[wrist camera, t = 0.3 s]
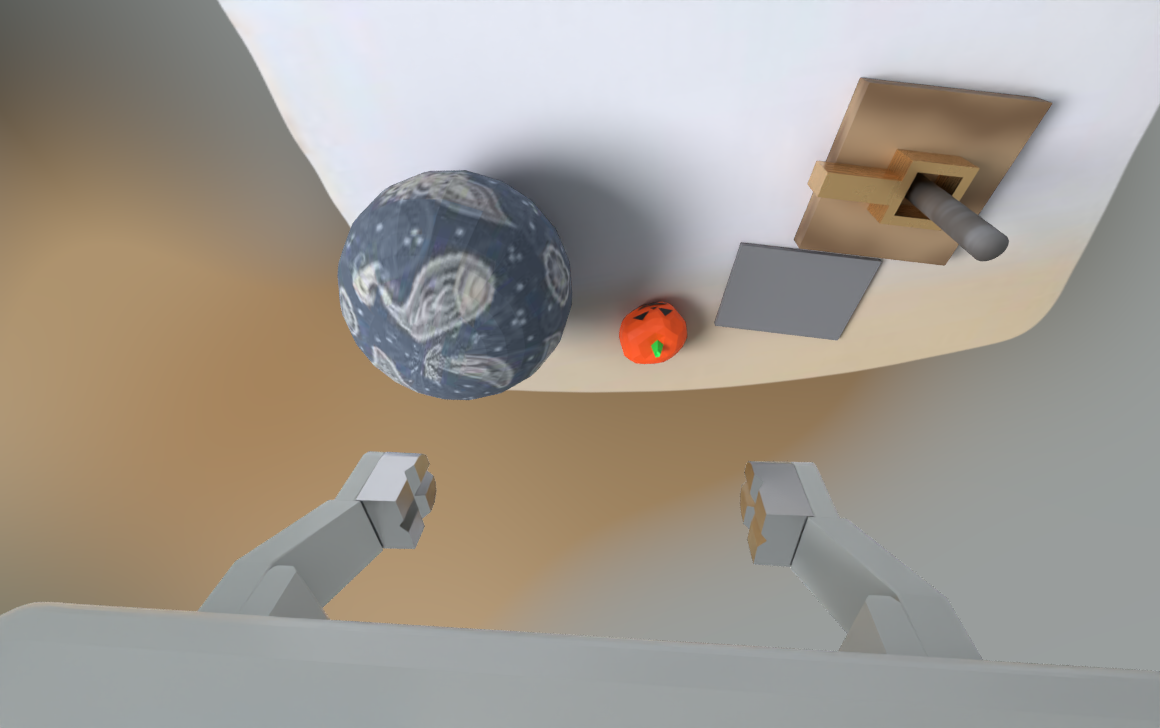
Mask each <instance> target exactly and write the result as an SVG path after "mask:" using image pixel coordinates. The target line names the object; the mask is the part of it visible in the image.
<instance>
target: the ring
mask: <svg viewBox="0 0 1160 728" xmlns="http://www.w3.org/2000/svg"><path fill="white" fill-rule="evenodd" d="M979 169H980V168H979V167H977V166H975V165H974V164H972V163H970V162H969V161H967V160H965V159H964V158H962V157H960V156H953V155H944V154H936V153H927V152H918V151H909V150H901V149H897V150H896V152H895V154H894V156H893V158H892V160H891V162H890V164H889V166H888V168H887V169H884V168H876V167H867V166H858V165H849V164H841V163H832V162H823V161H816V164H815V166H814V169H813V171H812V174H811V176H810V179H809V182H808V186H809V187H810V188H811V189H812V191H813V192H814V193H815V195H816V196H817V197H821V198H830V199H839V200H847V201H856V202H864V203H870V204H869V206H868V208H867V210H868V211H869V213H870V214H871V215H872V216H873V217H874V218H875V219H876V220H877V221H878V222H879V223H880V224H887V225H896V226H904V227H913V228H922V229H930V230H939V231H941V230H942V229H941V228H939V227H938V226H937V225H936V224H935V223H934V222H933V221H931V220H930V219H929V218H928V217H927V216H926V215H925V214H923V213H922V212H921V211H920V210H919V209H918V208H917V207H915V206H910V205H901V202H902V200H903V198H904V197H905V195H906V193H907V191H908V189H909V187H910V185H911V184H912V182H913V180H914V178H915V176H916V174H917V173H918V172H920V173H929V174H938V177H937V179H936V181H935V182H934V183H935V184H936V185H938V186H939V187H940V188H942V189H943V190H944V191H946V192H947V193H948V194H950V195H951V196H953V197H954V198H955V199H957V200H958V201H960V199H961V198H962V196H963V195H964V193H965V191H966V190H967V188H968V187H969V185H970V183H971V182H972V180H973V179H974V177H975V175H976V174H977V172H978V171H979Z"/></svg>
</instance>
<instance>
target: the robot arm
mask: <svg viewBox="0 0 1160 728" xmlns="http://www.w3.org/2000/svg"><path fill="white" fill-rule="evenodd" d="M428 467H429V461H428V458H427V456H426V455H424V454H416V453H397V452H367V453H366V454H364V455H363V456H362V458H361V460H360V461H359V463H358V464H357V466H356V467H355V469H354V470H353V472H352V473H351V475H350V476H349V478H348V479H347V481H346V483H345V484H344V486H343V487H342V489H341V490H340V492H339V493H338V495H337V497H336V498H335V500H328V501H327V502H325V503H324V504H322V505H320V506H319V507H318V508H316V509H315V510H313V511H311V512H310V513H308V514H307V515H305V516H304V517H302V518H301V519H299V520H298V521H296V522H295V523H293V524H292V525H290V526H288V527H287V528H286V529H284V530H282V531H281V532H279V533H278V534H276V535H275V536H273V537H272V538H270V539H269V540H267V541H266V542H264V543H263V544H261V545H260V546H258V547H256V548H255V549H253V550H252V551H250V552H249V553H248V554H246V555H244V556H243V557H241V558H240V559H238V560H237V561H235V563H234V564H233V565H232V566H231V568H230V569H229V570H228V572H227V573H226V574H225V576H224V577H223V578H222V580H221V581H220V582H219V583H218V585H217V586H216V587H215V589H214V590H213V591H212V593H211V594H210V595H209V597H208V598H207V599H206V601H205V602H204V603H203V605H202V606H201V607H200V608H199V610H198V611H197V612H196V611H180V610H164V609H148V608H147V609H146V608H131V607H115V606H100V605H99V606H98V605H83V604H69V603H57V602H35V603H31V604H26V605H23V606H20V607H17V608H15V609H13V610H11V611H9V612H7V613H4V614H2V615H0V728H1160V671H1152V670H1136V669H1119V668H1102V667H1086V666H1069V665H1054V664H1038V663H1021V662H1004V661H988V660H983V659H982V657H981V655H980V654H979V652H978V650H977V648H976V647H975V645H974V643H973V642H972V640H971V638H970V636H969V635H968V633H967V631H966V629H965V628H964V626H963V624H962V622H961V621H960V619H959V617H958V615H957V614H956V612H955V610H954V608H953V607H952V605H951V603H950V601H949V600H948V598H947V597H946V596H944V595H943V594H942V593H941V592H939V591H938V590H937V589H936V588H934V587H933V586H932V585H931V584H929V583H928V582H927V581H926V580H924V579H923V578H922V577H920V576H919V575H918V574H917V573H915V572H914V571H913V570H912V569H910V568H909V567H908V566H907V565H905V564H904V563H903V562H901V561H900V560H899V559H898V558H896V557H895V556H894V555H893V554H891V553H890V552H889V551H887V550H886V549H885V548H884V547H882V546H881V545H880V544H879V543H877V542H876V541H875V540H874V539H872V538H871V537H870V536H869V535H867V534H866V533H865V532H863V531H862V530H861V529H860V528H858V527H857V526H856V525H855V524H853V523H852V522H851V521H850V520H848V519H847V518H840V517H839V514H838V512H837V510H836V508H835V506H834V504H833V501H832V499H831V497H830V495H829V493H828V490H827V488H826V486H825V484H824V482H823V479H822V477H821V475H820V473H819V471H818V469H817V466H816V465H815V464H814V463H813V462H757V461H756V462H755V461H750V462H747V464H746V468H745V472H744V473H745V477H746V482H745V483H744V484H742V486H741V493H740V509H741V516H742V520H743V524H745V525H746V526H747V527H748V528H749V533H748V538H747V541H748V544H749V549H750V553H751V557H752V561H753V564H759V565H773V566H787V567H791V570H792V571H793V572H794V573H795V574H796V575H797V577H798V578H799V579H800V580H801V581H802V583H803V584H804V585H805V586H806V587H807V588H808V589H809V591H810V592H811V593H812V594H813V595H814V596H815V597H816V599H817V600H818V601H819V602H820V603H821V604H822V605H823V607H824V608H825V609H826V610H827V611H828V612H829V614H830V615H831V616H832V617H833V618H834V619H835V621H837V623H838V624H839V625H840V626H841V627H842V629H843V630H844V631H845V632H846V633H847V636H846V638H845V639H844V641H843V643H842V645H841V647H840V649H839V651H827V650H810V649H795V648H777V647H762V646H746V645H730V644H713V643H697V642H681V641H664V640H649V639H648V640H647V639H632V638H616V637H599V636H583V635H566V634H551V633H550V634H549V633H534V632H517V631H501V630H485V629H468V628H452V627H437V626H421V625H405V624H403V625H402V624H388V623H372V622H356V621H340V620H330V619H329V617H328V616H327V614H326V613H325V611H324V610H323V607H324V606H325V605H326V604H327V603H328V602H329V601H330V600H331V599H332V598H333V597H334V596H335V595H337V594H338V593H339V592H340V591H341V590H342V589H343V588H344V587H345V586H346V585H347V584H348V583H349V582H350V581H351V580H352V579H353V578H354V577H355V576H356V575H357V574H359V573H360V572H361V571H362V570H363V569H364V568H365V567H366V566H367V565H368V564H369V563H370V562H371V561H372V560H373V559H374V558H375V557H376V556H377V555H379V553H381V552H382V551H383V548H397V549H415V548H416V545H417V543H418V541H419V538H420V536H421V533H422V532H423V529H424V527H425V526H424V523H423V520H422V518H424V517H425V516H426V515H427V514H429V513H430V512H431V510H432V508H433V505H434V502H435V496H436V482H435V479H434V476H433V475H432V474H431V473H429V472H428V471H427V469H428Z"/></svg>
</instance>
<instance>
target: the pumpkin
mask: <svg viewBox="0 0 1160 728" xmlns="http://www.w3.org/2000/svg"><path fill="white" fill-rule="evenodd" d="M619 338H620V342H621V346H622V349H623V352H624V355H625V356H626V357H627V358H628V359H629V360H631V361H633V362H634V363H639V364H654V363H660V362H665V361H666V360H668V359H670V358H672V357H673V356H674V355H675V354H676V353H678V351H679V350H680V349H681V348H682V347H683V345H684V343H685V341H686V338H687V328H686V322H685V321H684V319H683V318H682V317H681V316H680V314H679V313H678V312H677V311H676V309H675V308H674V307H673V306H672V305H671V304H669V303H665V302H658V303H651V304H648V305H644V306H641V307H639V308H637V309H635V310H633V311H632V312H631V313H629V314H628V315H627V316H626V317H625V318H624V320H623V321H622V323H621V327H620V332H619Z"/></svg>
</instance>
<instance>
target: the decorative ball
mask: <svg viewBox="0 0 1160 728" xmlns="http://www.w3.org/2000/svg"><path fill="white" fill-rule="evenodd" d="M338 284H339V296H340V305H341V310H342V314H343V316H344V318H345V321H346V323H347V325H348V327H349V330H350V332H351V334H352V336H353V338H354V340H355V342H356V344H357V345H358V347H359V348H360V349H361V350H362V352H363V353H364V354H365V355H366V356H367V358H368V359H369V360H370V361H371V362H372V363H373V365H374V366H375V367H377V368H379V370H381V371H382V372H383V373H385V374H386V375H387V376H389V377H390V378H391V379H393V380H394V381H395V382H397V383H399V384H401V385H403V386H405V387H407V388H409V389H412V390H414V391H416V392H418V393H421V394H425V395H429V396H433V397H437V398H442V399H451V400H471V399H477V398H481V397H486V396H490V395H495V394H499V393H502V392H504V391H506V390H508V389H509V388H511V387H513V386H515V385H516V384H518V383H520V382H522V381H523V380H525V379H527V378H529V377H530V376H531V375H532V374H534V373H535V372H536V371H537V370H538V369H539V368H540V367H541V365H542V364H543V363H544V362H545V360H546V359H547V358H548V357H549V356H550V354H551V353H552V352H553V351H554V350H555V348H556V346H557V345H558V343H559V342H560V340H561V337H562V334H563V331H564V328H565V325H566V321H567V318H568V315H569V312H570V309H571V305H572V287H571V272H570V264H569V260H568V257H567V255H566V252H565V250H564V248H563V245H562V243H561V241H560V238H559V236H558V234H557V231H556V229H555V228H554V226H553V225H552V224H551V223H550V222H549V220H548V219H547V218H546V217H545V216H544V215H543V213H542V212H541V211H540V210H539V209H538V207H537V206H536V205H535V204H534V203H533V202H532V201H531V200H530V199H529V198H527V197H526V196H524V195H523V194H521V193H520V192H518V191H516V190H515V189H513V188H512V187H510V186H509V185H507V184H506V183H504V182H503V181H499V180H496V179H493V178H489V177H486V176H483V175H480V174H476V173H473V172H470V171H466V170H462V171H429V172H425V173H421V174H419V175H416V176H414V177H411V178H409V179H406V180H404V181H402V182H399V183H397V184H394V185H392V186H390V187H388V188H387V189H385V190H384V191H382V192H381V193H380V194H379V195H378V196H377V197H376V198H375V199H374V201H373V202H372V203H371V204H370V205H369V206H368V207H367V208H366V209H365V210H364V211H363V212H362V213H361V214H360V215H359V216H358V218H357V219H356V220H355V221H354V222H353V224H352V227H351V229H350V232H349V234H348V237H347V240H346V243H345V246H344V249H343V252H342V255H341V258H340V261H339V266H338Z"/></svg>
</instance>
